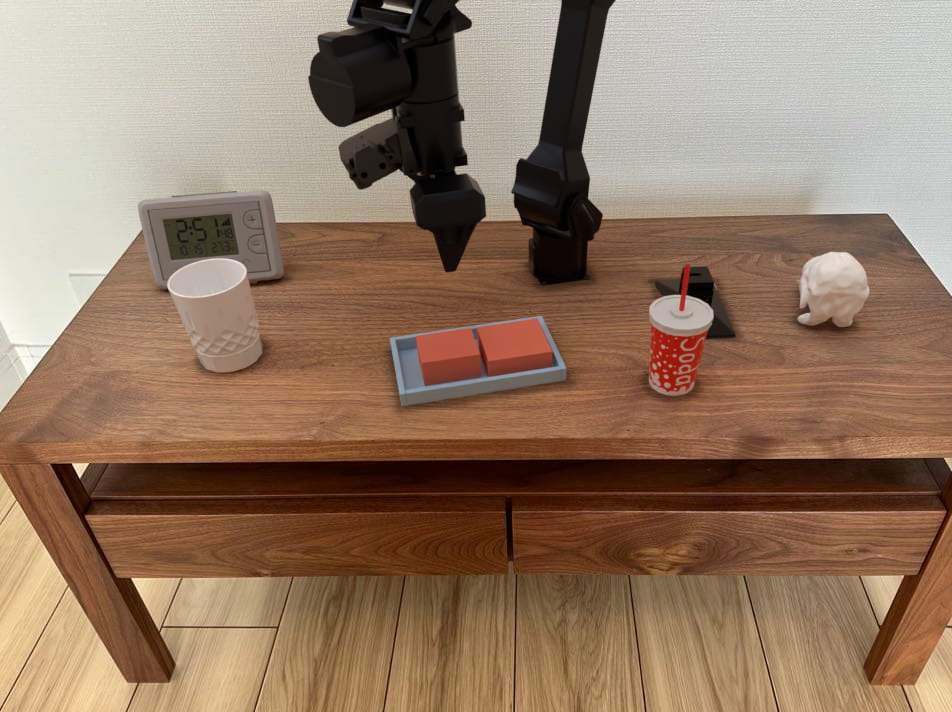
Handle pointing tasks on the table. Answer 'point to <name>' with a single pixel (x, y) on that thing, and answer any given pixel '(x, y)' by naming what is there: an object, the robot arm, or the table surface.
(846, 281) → the white lumpy figurine
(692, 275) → the black stand
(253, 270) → the digital clock
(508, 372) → the pad
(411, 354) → the tray
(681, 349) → the beverage cup
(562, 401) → the table surface
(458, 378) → the loose pad
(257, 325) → the white cup
